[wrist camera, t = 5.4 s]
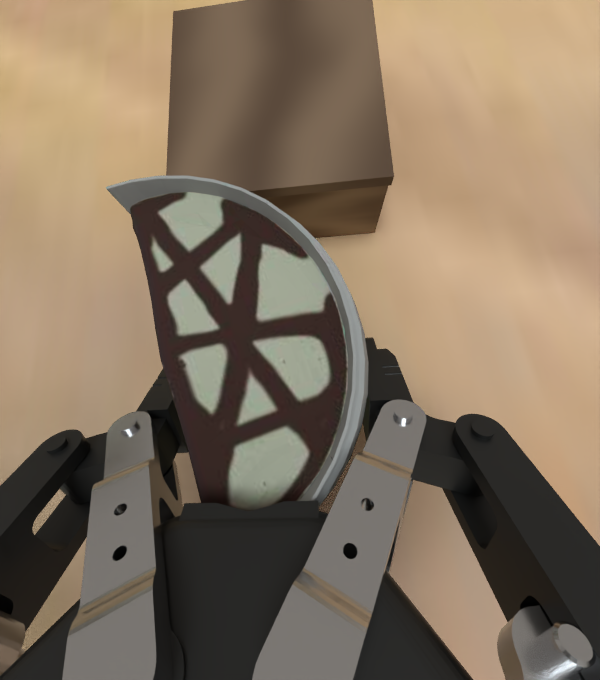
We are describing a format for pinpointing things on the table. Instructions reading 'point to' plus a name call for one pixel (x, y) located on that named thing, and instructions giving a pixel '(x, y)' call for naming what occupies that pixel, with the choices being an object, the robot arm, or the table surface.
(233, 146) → the walnut block
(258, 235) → the food container
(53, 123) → the table surface
